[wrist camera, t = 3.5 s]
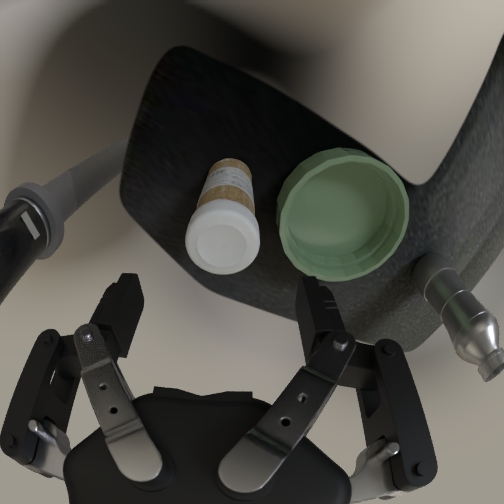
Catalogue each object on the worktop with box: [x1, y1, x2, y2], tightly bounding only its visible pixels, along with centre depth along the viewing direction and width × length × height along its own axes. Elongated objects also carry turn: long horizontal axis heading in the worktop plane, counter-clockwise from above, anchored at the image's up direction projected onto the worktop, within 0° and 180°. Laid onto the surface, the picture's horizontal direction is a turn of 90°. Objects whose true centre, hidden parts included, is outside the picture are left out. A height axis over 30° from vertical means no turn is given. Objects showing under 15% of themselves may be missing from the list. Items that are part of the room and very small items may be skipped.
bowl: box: [276, 148, 409, 281], centre depth 28 cm, size 14×14×4 cm
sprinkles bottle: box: [185, 158, 260, 274], centre depth 22 cm, size 5×5×14 cm
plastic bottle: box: [413, 253, 504, 382], centre depth 26 cm, size 6×7×20 cm
